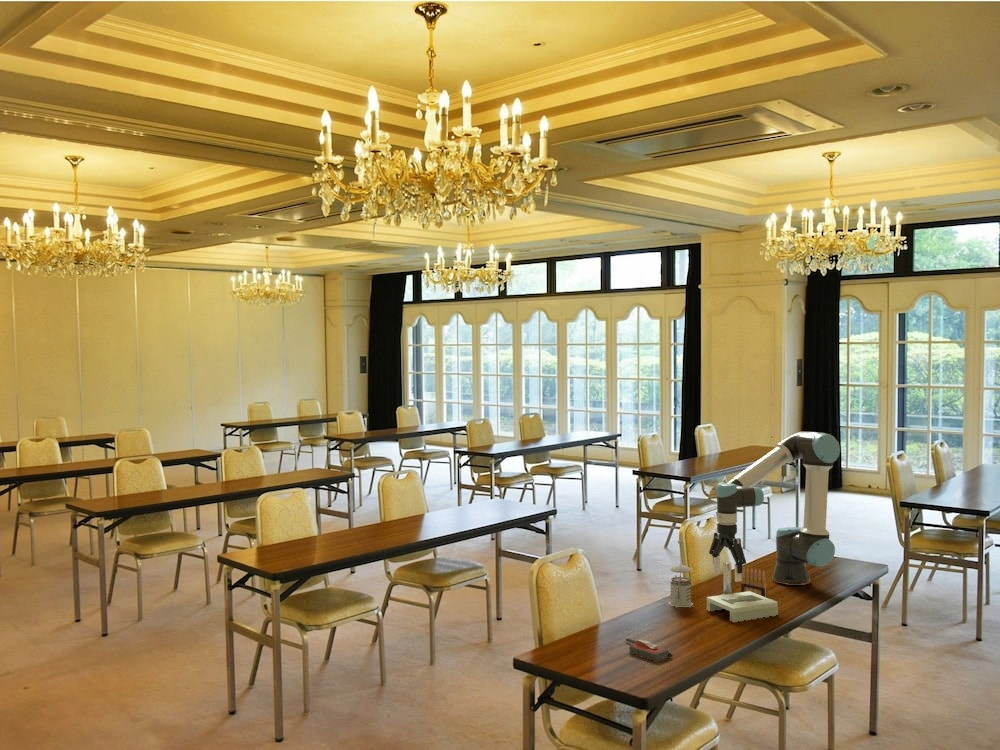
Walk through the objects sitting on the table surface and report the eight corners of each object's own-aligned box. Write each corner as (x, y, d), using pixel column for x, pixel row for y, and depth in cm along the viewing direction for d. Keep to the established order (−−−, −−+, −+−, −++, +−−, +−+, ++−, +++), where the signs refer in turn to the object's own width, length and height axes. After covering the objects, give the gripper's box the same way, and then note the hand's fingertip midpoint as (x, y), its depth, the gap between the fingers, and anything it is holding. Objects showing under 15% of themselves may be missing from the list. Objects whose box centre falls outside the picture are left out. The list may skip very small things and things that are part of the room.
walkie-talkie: (676, 658, 261) (628, 642, 276) (676, 644, 261) (628, 629, 276) (659, 665, 255) (611, 648, 270) (659, 651, 255) (610, 635, 270)
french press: (696, 602, 320) (695, 538, 320) (689, 610, 310) (689, 544, 309) (671, 599, 324) (670, 536, 324) (664, 607, 314) (663, 542, 313)
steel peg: (728, 598, 325) (728, 560, 325) (737, 601, 320) (737, 563, 320) (717, 599, 323) (717, 562, 323) (726, 603, 318) (725, 565, 318)
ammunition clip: (767, 600, 322) (767, 570, 322) (764, 601, 320) (764, 570, 320) (743, 594, 330) (743, 565, 330) (740, 595, 328) (740, 566, 328)
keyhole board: (749, 603, 317) (749, 590, 317) (777, 615, 302) (777, 601, 302) (706, 610, 310) (706, 596, 309) (733, 622, 295) (733, 608, 295)
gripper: (700, 518, 331) (700, 570, 332) (739, 529, 308) (739, 585, 309) (715, 517, 334) (715, 569, 334) (755, 528, 311) (755, 583, 311)
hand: (727, 577), depth 321 cm, fingers open, 13 cm apart
